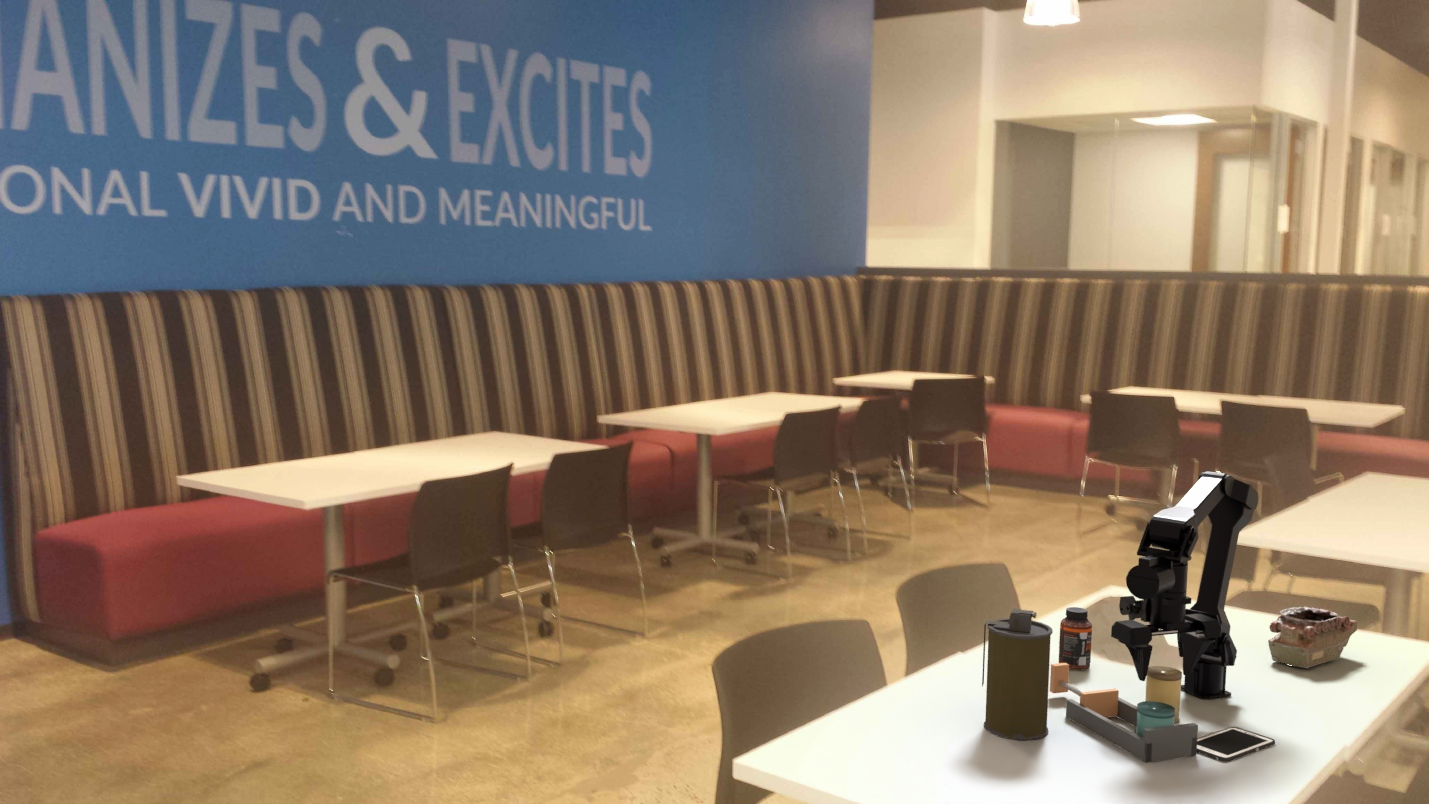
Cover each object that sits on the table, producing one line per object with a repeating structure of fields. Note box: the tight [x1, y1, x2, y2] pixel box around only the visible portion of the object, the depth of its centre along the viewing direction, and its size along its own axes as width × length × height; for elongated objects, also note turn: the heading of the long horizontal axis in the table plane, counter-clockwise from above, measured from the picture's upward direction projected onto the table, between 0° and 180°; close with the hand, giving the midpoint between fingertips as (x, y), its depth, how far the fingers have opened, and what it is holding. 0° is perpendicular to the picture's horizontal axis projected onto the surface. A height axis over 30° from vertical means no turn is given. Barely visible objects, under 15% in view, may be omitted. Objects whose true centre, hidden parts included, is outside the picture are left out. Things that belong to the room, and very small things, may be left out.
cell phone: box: [1196, 726, 1276, 763], centre depth 197 cm, size 8×15×1 cm, turn 125°
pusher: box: [1049, 662, 1120, 718], centre depth 213 cm, size 7×13×6 cm, turn 19°
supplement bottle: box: [1058, 606, 1093, 671], centre depth 236 cm, size 6×6×11 cm
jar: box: [1135, 700, 1175, 738], centre depth 194 cm, size 6×6×7 cm
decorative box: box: [1267, 605, 1358, 669], centre depth 245 cm, size 13×20×10 cm, turn 118°
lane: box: [1065, 696, 1199, 763], centre depth 200 cm, size 10×21×5 cm, turn 19°
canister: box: [981, 608, 1053, 741], centre depth 202 cm, size 11×10×20 cm
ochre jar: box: [1144, 665, 1183, 723], centre depth 210 cm, size 6×6×8 cm
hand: (1164, 677), depth 209 cm, fingers open, 9 cm apart
